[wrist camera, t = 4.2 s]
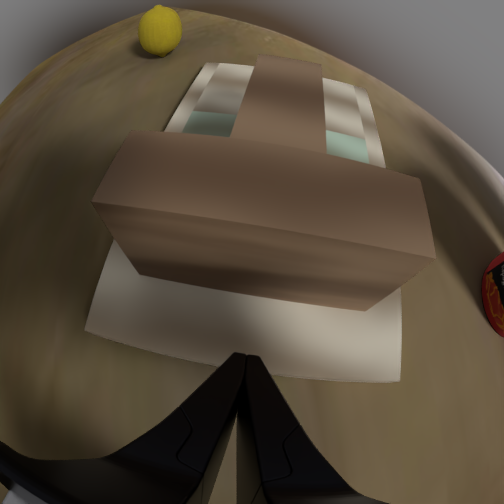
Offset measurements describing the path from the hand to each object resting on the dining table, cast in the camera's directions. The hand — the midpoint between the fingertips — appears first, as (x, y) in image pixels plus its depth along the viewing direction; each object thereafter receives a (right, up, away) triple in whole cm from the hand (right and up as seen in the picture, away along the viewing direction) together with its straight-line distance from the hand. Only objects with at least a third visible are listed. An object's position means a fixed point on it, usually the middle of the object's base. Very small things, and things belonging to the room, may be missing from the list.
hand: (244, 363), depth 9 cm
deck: (+2, +10, +13) cm, 16 cm away
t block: (+1, +7, +10) cm, 12 cm away
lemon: (-11, +29, +21) cm, 38 cm away
